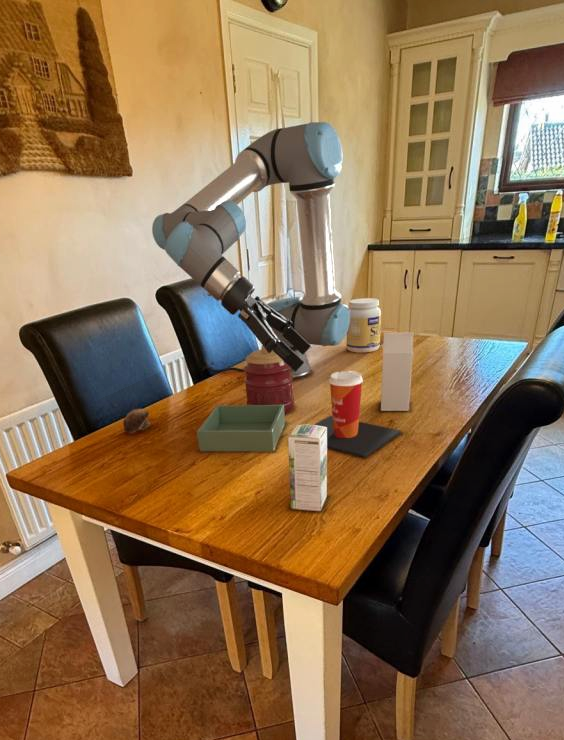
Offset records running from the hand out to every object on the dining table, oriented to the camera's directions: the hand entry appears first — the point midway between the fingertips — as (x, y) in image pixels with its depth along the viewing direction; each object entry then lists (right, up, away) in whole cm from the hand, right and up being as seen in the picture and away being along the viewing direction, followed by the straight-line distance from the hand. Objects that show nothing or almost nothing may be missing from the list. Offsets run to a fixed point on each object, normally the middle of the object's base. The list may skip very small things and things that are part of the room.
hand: (303, 358), depth 114 cm
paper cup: (+10, -16, +7) cm, 20 cm away
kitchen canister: (-7, -6, +27) cm, 29 cm away
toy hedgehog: (-42, -13, +20) cm, 49 cm away
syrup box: (0, -33, -18) cm, 37 cm away
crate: (-14, -16, +12) cm, 24 cm away
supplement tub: (+27, +26, +76) cm, 84 cm away
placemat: (+10, -16, +8) cm, 21 cm away
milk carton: (+26, -6, +22) cm, 34 cm away
